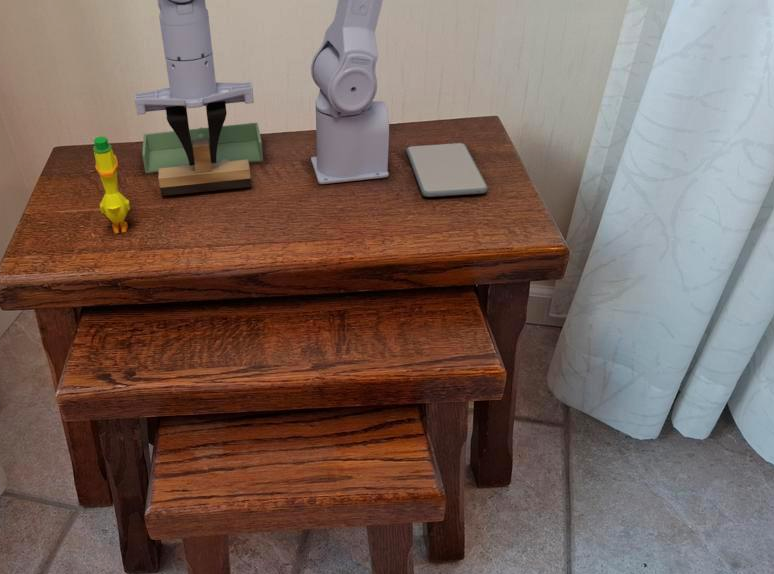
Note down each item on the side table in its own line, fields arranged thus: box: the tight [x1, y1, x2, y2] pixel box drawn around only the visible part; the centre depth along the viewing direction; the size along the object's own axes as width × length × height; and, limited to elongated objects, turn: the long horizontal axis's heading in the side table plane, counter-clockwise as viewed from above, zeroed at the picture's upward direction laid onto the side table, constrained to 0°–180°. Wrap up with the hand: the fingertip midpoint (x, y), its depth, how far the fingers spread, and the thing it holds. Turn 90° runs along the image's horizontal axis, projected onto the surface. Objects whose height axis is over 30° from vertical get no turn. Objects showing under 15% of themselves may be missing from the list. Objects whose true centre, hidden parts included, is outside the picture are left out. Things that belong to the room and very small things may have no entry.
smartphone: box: [405, 142, 489, 198], centre depth 102 cm, size 8×1×15 cm
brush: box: [157, 138, 252, 197], centre depth 101 cm, size 12×3×6 cm, turn 96°
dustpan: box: [141, 122, 264, 174], centre depth 111 cm, size 10×17×3 cm, turn 96°
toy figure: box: [92, 136, 131, 234], centre depth 93 cm, size 7×4×12 cm, turn 9°
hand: (202, 161), depth 100 cm, fingers closed on brush, 2 cm apart
